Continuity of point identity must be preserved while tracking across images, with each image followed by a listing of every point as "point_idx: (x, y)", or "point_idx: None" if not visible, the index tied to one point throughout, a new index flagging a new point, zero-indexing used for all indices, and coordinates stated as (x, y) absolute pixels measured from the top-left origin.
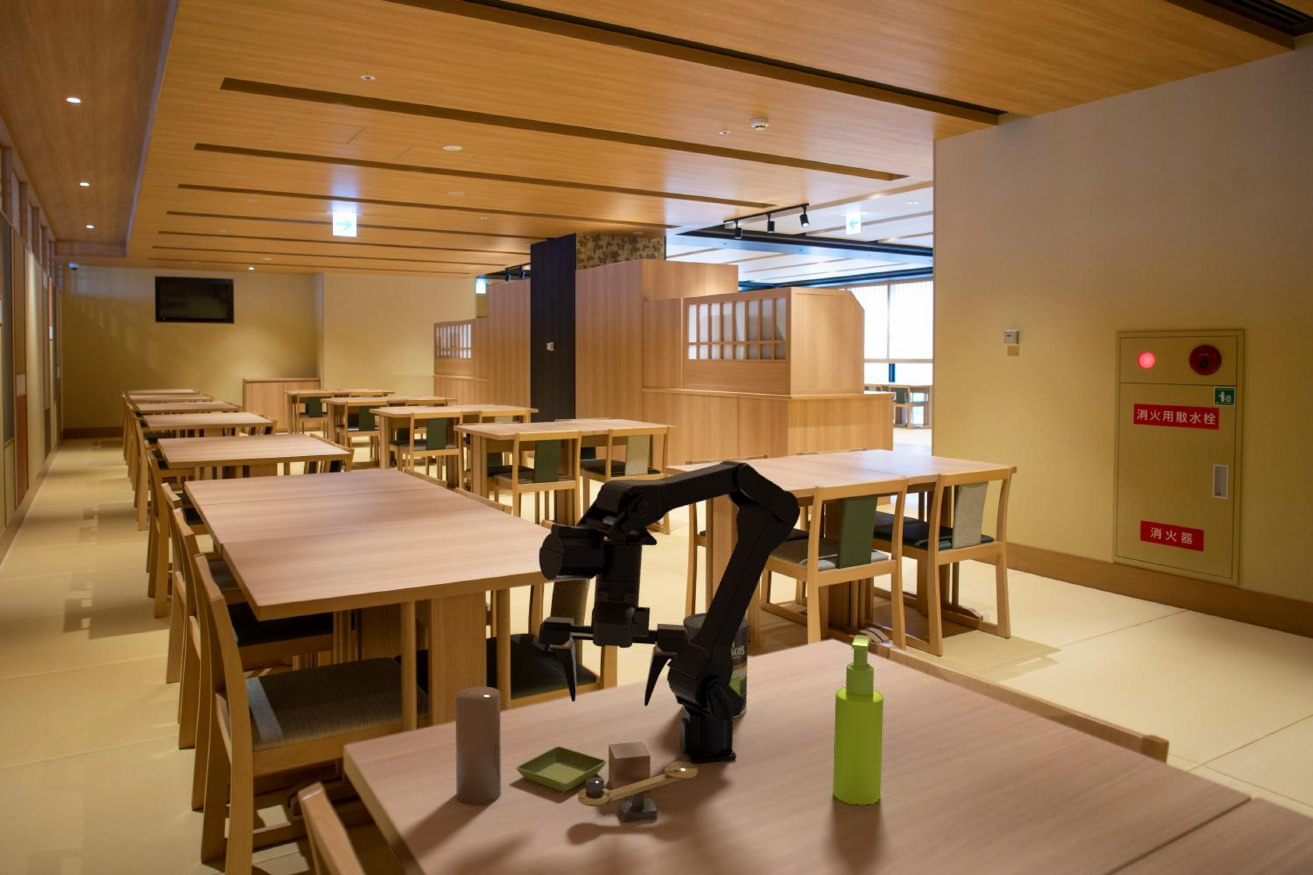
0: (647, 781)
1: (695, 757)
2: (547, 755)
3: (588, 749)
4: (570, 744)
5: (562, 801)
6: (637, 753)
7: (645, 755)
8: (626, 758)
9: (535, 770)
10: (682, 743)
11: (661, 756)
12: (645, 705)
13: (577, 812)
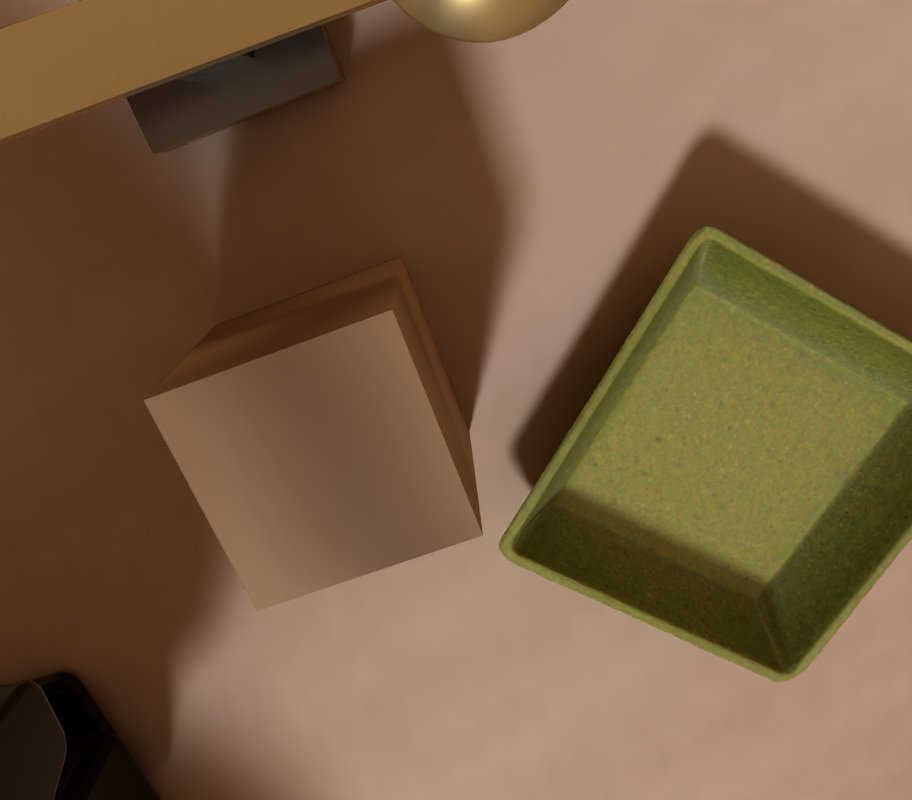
0: (99, 57)
1: (54, 704)
2: (834, 592)
3: (620, 737)
4: (714, 771)
5: (692, 153)
6: (246, 418)
7: (181, 397)
8: (312, 334)
9: (876, 467)
10: (125, 791)
11: (248, 718)
12: (21, 682)
13: (588, 20)
